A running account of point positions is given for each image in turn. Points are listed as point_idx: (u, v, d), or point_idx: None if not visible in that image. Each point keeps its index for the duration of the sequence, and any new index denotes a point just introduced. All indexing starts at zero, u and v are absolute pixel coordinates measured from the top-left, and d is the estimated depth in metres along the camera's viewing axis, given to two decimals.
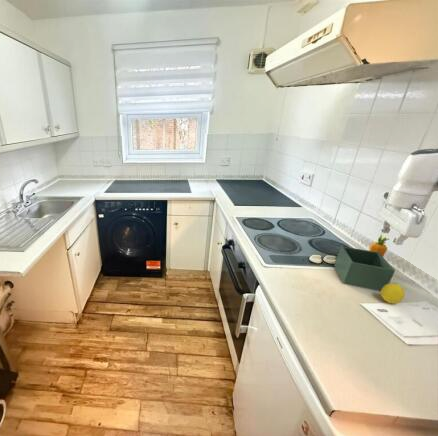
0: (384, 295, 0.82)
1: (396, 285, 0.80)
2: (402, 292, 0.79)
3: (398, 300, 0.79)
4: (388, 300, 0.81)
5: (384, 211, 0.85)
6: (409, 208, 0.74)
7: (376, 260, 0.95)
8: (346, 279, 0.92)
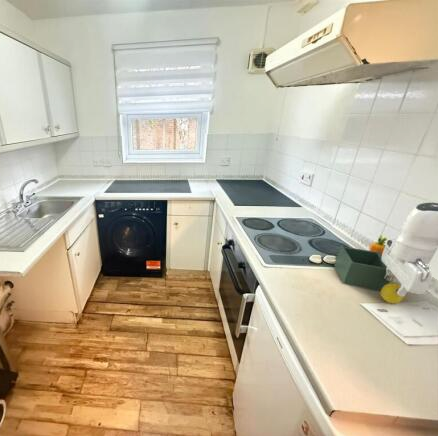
0: (384, 295, 0.82)
1: (396, 285, 0.80)
2: None
3: (398, 300, 0.79)
4: (388, 300, 0.81)
5: (388, 258, 0.84)
6: (413, 262, 0.73)
7: (376, 260, 0.95)
8: (346, 279, 0.92)
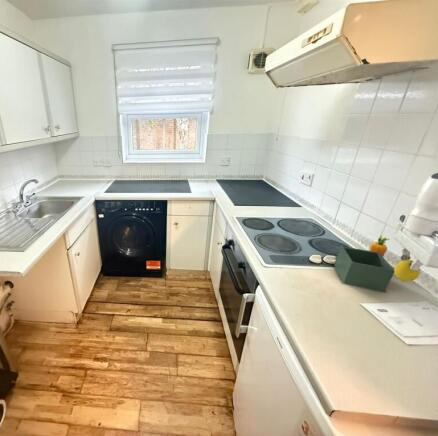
0: (398, 272, 0.78)
1: (410, 261, 0.76)
2: None
3: (414, 277, 0.75)
4: (403, 278, 0.77)
5: (401, 235, 0.80)
6: (430, 235, 0.69)
7: (376, 260, 0.95)
8: (346, 279, 0.92)
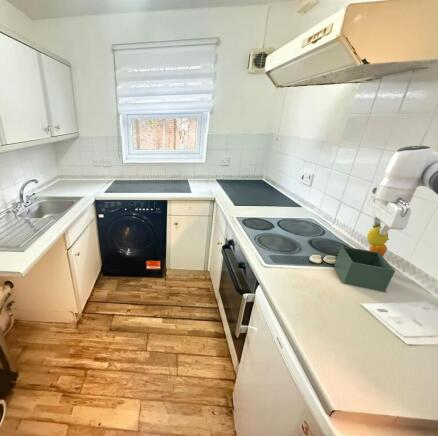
0: (370, 238, 0.88)
1: None
2: None
3: (383, 241, 0.86)
4: (374, 242, 0.87)
5: (373, 205, 0.90)
6: (395, 202, 0.79)
7: (376, 260, 0.95)
8: (346, 279, 0.92)
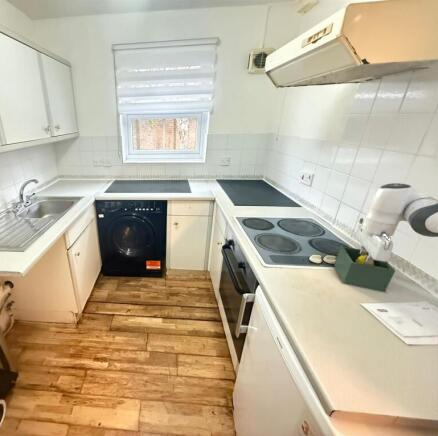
0: None
1: (366, 256, 0.92)
2: (372, 262, 0.91)
3: None
4: None
5: (360, 234, 0.95)
6: (379, 235, 0.84)
7: (376, 260, 0.95)
8: (346, 279, 0.92)
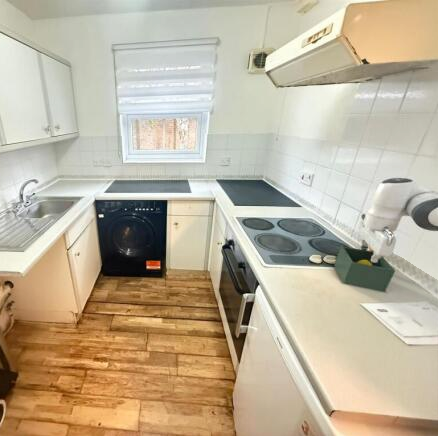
0: None
1: (366, 261, 0.92)
2: None
3: None
4: None
5: (363, 230, 0.94)
6: (382, 230, 0.83)
7: None
8: (346, 279, 0.92)
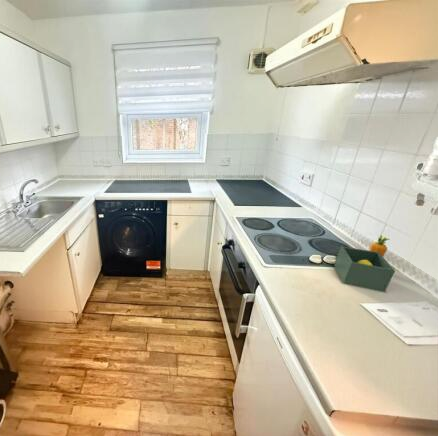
0: None
1: (366, 261, 0.92)
2: None
3: None
4: None
5: (418, 183, 0.83)
6: None
7: (376, 260, 0.95)
8: (346, 279, 0.92)
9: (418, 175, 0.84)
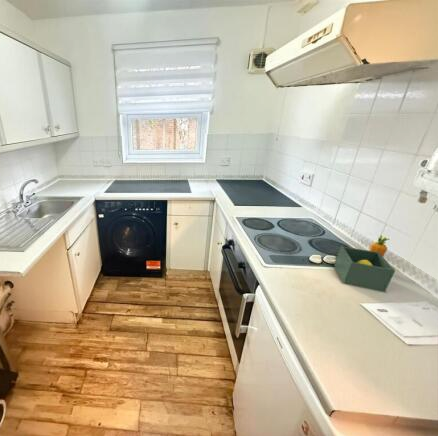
0: None
1: (366, 261, 0.92)
2: None
3: None
4: None
5: (421, 180, 0.83)
6: None
7: (376, 260, 0.95)
8: (346, 279, 0.92)
9: (421, 172, 0.83)
